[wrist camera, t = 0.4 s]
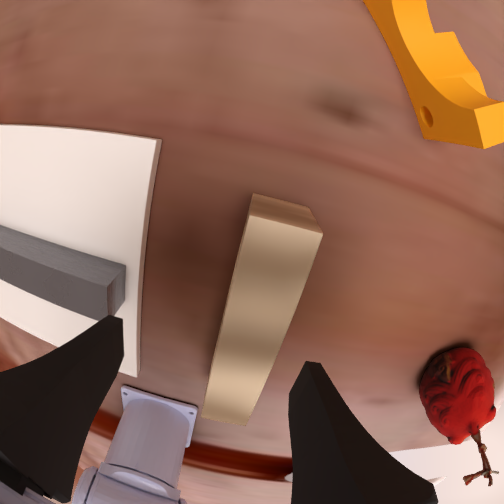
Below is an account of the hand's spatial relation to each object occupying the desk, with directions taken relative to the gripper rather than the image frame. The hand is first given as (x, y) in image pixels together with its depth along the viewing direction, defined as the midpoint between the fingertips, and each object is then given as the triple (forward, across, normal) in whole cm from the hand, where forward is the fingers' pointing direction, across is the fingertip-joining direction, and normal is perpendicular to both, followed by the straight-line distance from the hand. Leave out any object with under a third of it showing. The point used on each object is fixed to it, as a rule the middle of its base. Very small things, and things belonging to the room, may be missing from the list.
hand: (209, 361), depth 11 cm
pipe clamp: (+10, -8, -17) cm, 21 cm away
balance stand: (+10, +15, +3) cm, 18 cm away
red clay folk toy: (+10, -23, +7) cm, 26 cm away
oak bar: (+10, -2, +3) cm, 11 cm away
